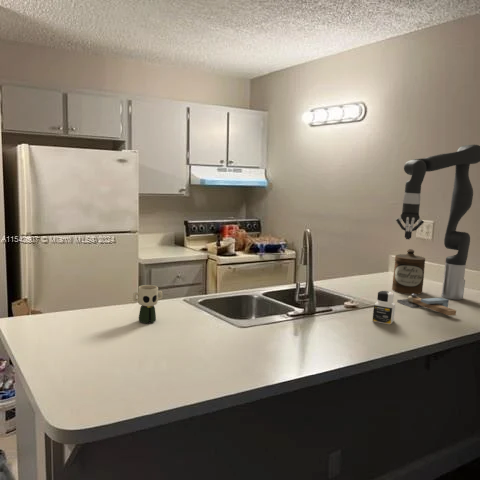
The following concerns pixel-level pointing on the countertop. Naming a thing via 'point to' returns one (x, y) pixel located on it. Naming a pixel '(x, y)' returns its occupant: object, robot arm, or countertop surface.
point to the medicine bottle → (384, 308)
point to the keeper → (436, 301)
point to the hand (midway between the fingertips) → (407, 239)
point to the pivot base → (410, 304)
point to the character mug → (147, 302)
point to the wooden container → (408, 273)
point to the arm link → (433, 306)
